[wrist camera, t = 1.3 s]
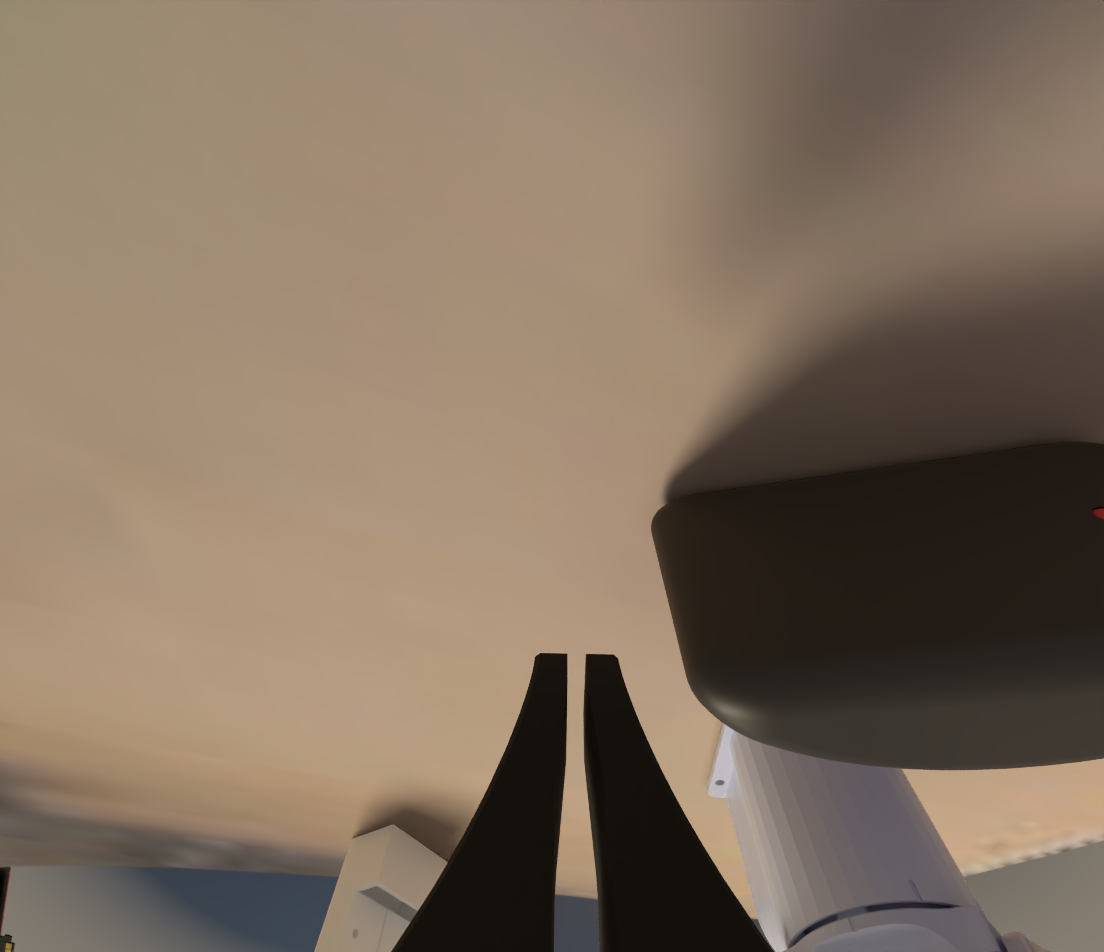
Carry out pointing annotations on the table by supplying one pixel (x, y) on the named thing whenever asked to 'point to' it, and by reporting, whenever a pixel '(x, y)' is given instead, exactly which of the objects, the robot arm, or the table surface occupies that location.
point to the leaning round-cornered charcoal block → (901, 609)
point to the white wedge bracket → (378, 891)
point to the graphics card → (3, 948)
